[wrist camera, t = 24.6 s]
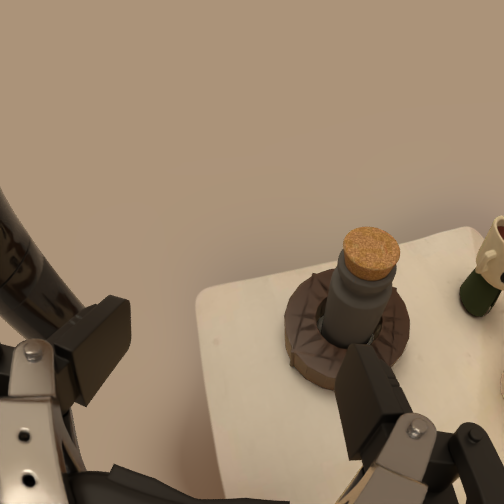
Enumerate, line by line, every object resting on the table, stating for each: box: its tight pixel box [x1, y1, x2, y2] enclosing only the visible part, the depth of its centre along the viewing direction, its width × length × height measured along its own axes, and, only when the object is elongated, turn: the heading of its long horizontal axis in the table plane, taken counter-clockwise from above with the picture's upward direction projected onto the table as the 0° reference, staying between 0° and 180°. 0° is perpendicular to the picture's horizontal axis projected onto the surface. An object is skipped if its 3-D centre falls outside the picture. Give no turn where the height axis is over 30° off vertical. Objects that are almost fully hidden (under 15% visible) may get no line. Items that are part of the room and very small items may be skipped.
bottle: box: [321, 227, 400, 349], centre depth 26 cm, size 6×6×15 cm
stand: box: [284, 269, 410, 390], centre depth 30 cm, size 14×14×4 cm
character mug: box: [460, 216, 504, 317], centre depth 27 cm, size 11×7×13 cm, turn 98°
